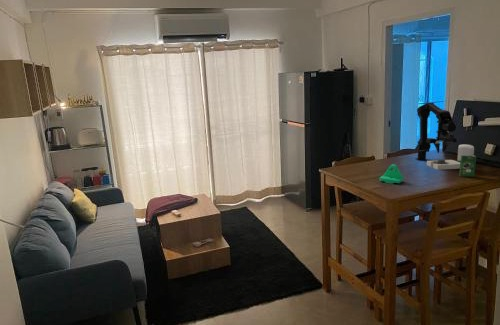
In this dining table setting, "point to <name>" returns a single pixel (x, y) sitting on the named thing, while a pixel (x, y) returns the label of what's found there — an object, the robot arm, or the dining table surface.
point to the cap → (440, 161)
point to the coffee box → (467, 166)
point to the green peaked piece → (392, 175)
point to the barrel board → (444, 165)
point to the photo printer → (465, 150)
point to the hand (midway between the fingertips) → (440, 152)
